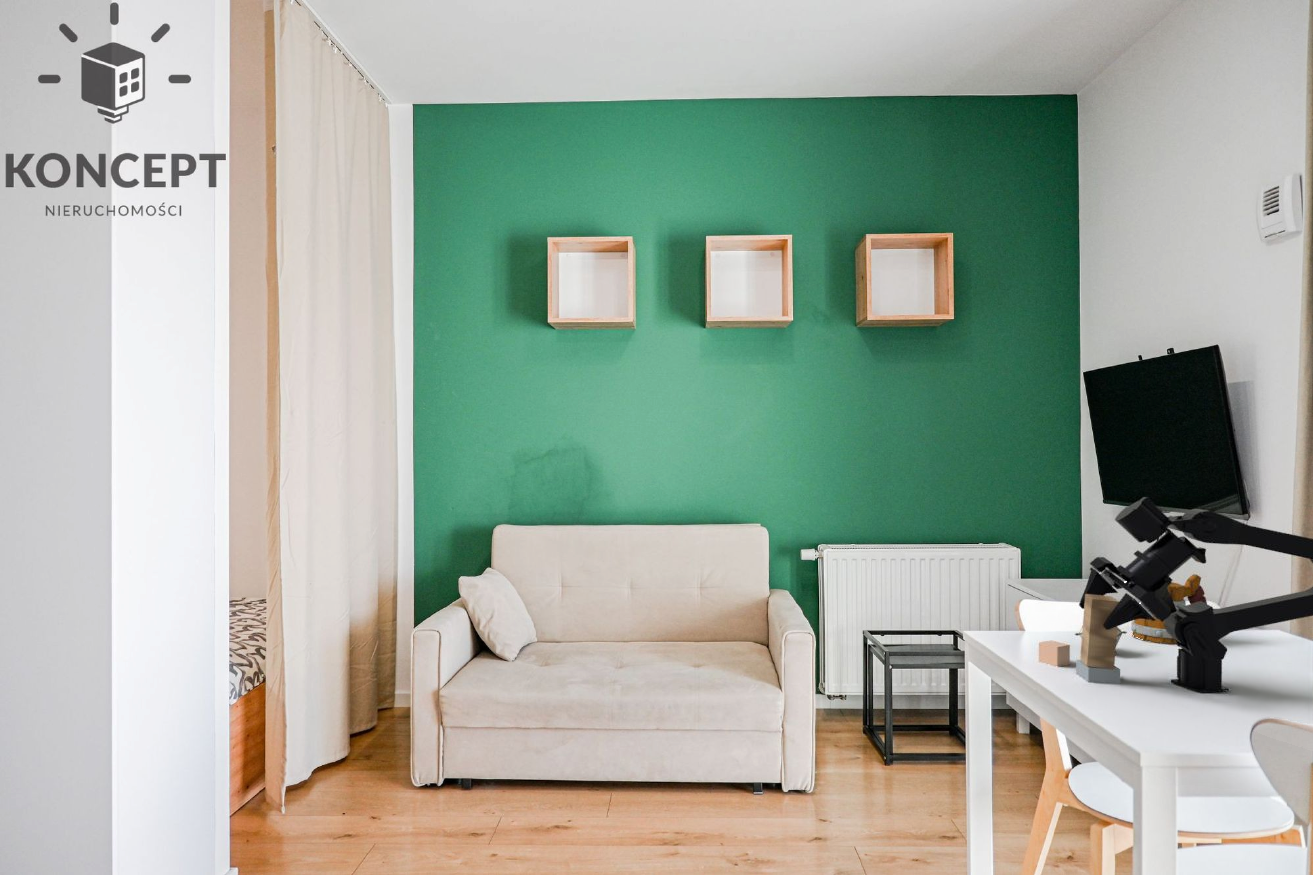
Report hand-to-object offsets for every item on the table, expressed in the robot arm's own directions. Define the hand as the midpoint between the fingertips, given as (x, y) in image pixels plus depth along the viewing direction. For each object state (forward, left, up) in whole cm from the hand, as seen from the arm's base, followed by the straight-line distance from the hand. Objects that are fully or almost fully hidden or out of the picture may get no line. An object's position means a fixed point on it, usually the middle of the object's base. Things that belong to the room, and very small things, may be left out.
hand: (1092, 617), depth 148 cm
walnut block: (-1, 0, -8) cm, 9 cm away
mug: (+27, -41, -12) cm, 50 cm away
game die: (+18, -16, -12) cm, 26 cm away
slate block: (0, -1, -12) cm, 12 cm away
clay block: (+11, 0, -11) cm, 16 cm away
